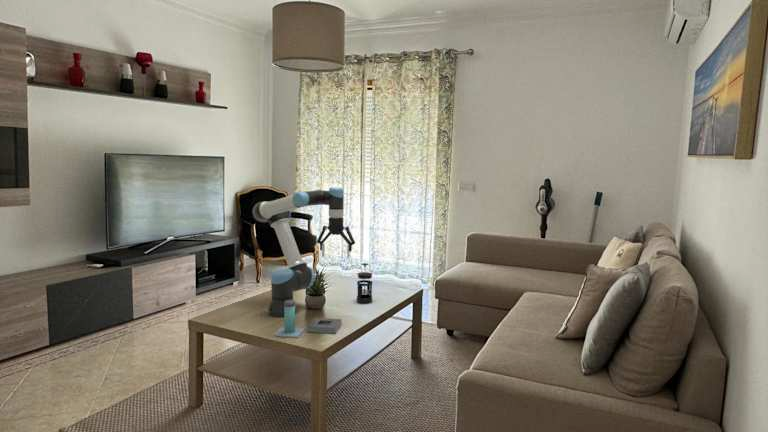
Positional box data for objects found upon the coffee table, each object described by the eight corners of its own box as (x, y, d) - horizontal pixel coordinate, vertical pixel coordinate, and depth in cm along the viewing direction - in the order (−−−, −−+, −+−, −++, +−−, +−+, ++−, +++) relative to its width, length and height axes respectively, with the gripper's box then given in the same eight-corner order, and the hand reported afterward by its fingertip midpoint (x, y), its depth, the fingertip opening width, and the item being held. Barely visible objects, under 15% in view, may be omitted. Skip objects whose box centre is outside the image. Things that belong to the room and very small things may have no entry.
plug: (283, 332, 256) (283, 302, 254) (286, 329, 261) (286, 299, 259) (293, 333, 256) (293, 303, 254) (296, 330, 261) (296, 300, 259)
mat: (273, 336, 254) (273, 334, 253) (281, 328, 265) (281, 326, 265) (298, 338, 252) (298, 336, 252) (305, 329, 264) (305, 328, 264)
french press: (362, 298, 323) (363, 261, 320) (375, 300, 318) (376, 263, 315) (352, 303, 312) (352, 264, 310) (365, 305, 308) (366, 266, 305)
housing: (307, 332, 261) (307, 326, 260) (314, 323, 274) (314, 317, 274) (335, 333, 259) (335, 327, 258) (341, 324, 272) (341, 319, 272)
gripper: (360, 217, 281) (360, 256, 283) (314, 215, 284) (314, 254, 287) (358, 218, 273) (357, 259, 276) (310, 217, 277) (310, 257, 279)
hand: (335, 257), depth 281 cm, fingers open, 13 cm apart
